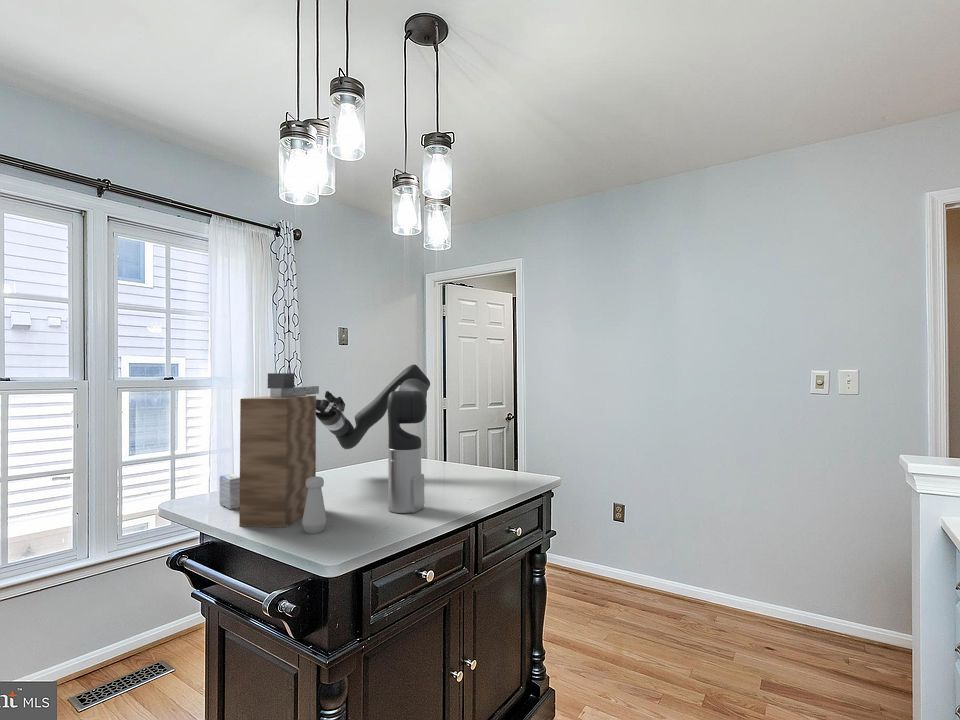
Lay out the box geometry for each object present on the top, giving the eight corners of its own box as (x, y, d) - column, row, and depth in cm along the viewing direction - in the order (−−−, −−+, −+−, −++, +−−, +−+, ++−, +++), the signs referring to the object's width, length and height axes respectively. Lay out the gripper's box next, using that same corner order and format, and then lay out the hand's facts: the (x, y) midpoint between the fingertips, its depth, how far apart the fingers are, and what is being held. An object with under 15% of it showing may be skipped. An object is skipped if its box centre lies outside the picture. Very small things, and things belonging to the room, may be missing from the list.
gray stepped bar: (307, 393, 159) (307, 373, 159) (321, 393, 158) (321, 373, 158) (267, 397, 135) (267, 373, 135) (283, 397, 134) (283, 373, 135)
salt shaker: (312, 536, 120) (312, 480, 120) (296, 532, 123) (296, 478, 123) (331, 529, 125) (332, 476, 125) (316, 526, 128) (316, 474, 128)
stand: (275, 507, 146) (275, 395, 147) (315, 508, 145) (315, 395, 146) (239, 526, 128) (240, 398, 129) (284, 527, 127) (285, 398, 128)
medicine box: (245, 506, 147) (245, 476, 147) (229, 510, 143) (229, 479, 144) (234, 502, 152) (234, 473, 152) (218, 505, 149) (219, 475, 149)
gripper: (313, 405, 174) (294, 383, 160) (353, 405, 173) (337, 382, 159) (308, 425, 170) (288, 404, 157) (349, 426, 169) (332, 404, 155)
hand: (313, 393), depth 158 cm, fingers open, 8 cm apart
